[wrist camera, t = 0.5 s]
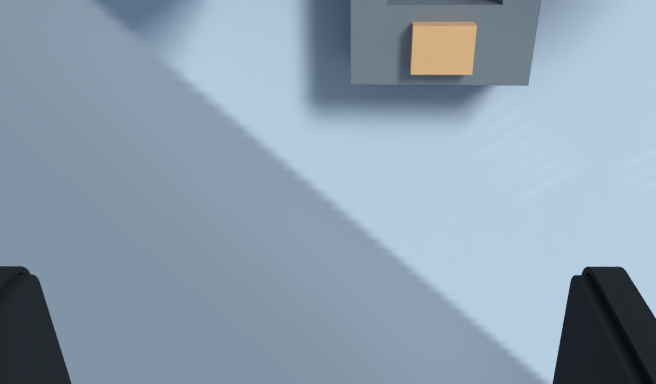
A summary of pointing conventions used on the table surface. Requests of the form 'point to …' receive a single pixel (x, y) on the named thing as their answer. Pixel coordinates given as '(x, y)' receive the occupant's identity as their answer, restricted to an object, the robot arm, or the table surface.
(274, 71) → the table surface
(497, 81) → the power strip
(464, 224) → the table surface
